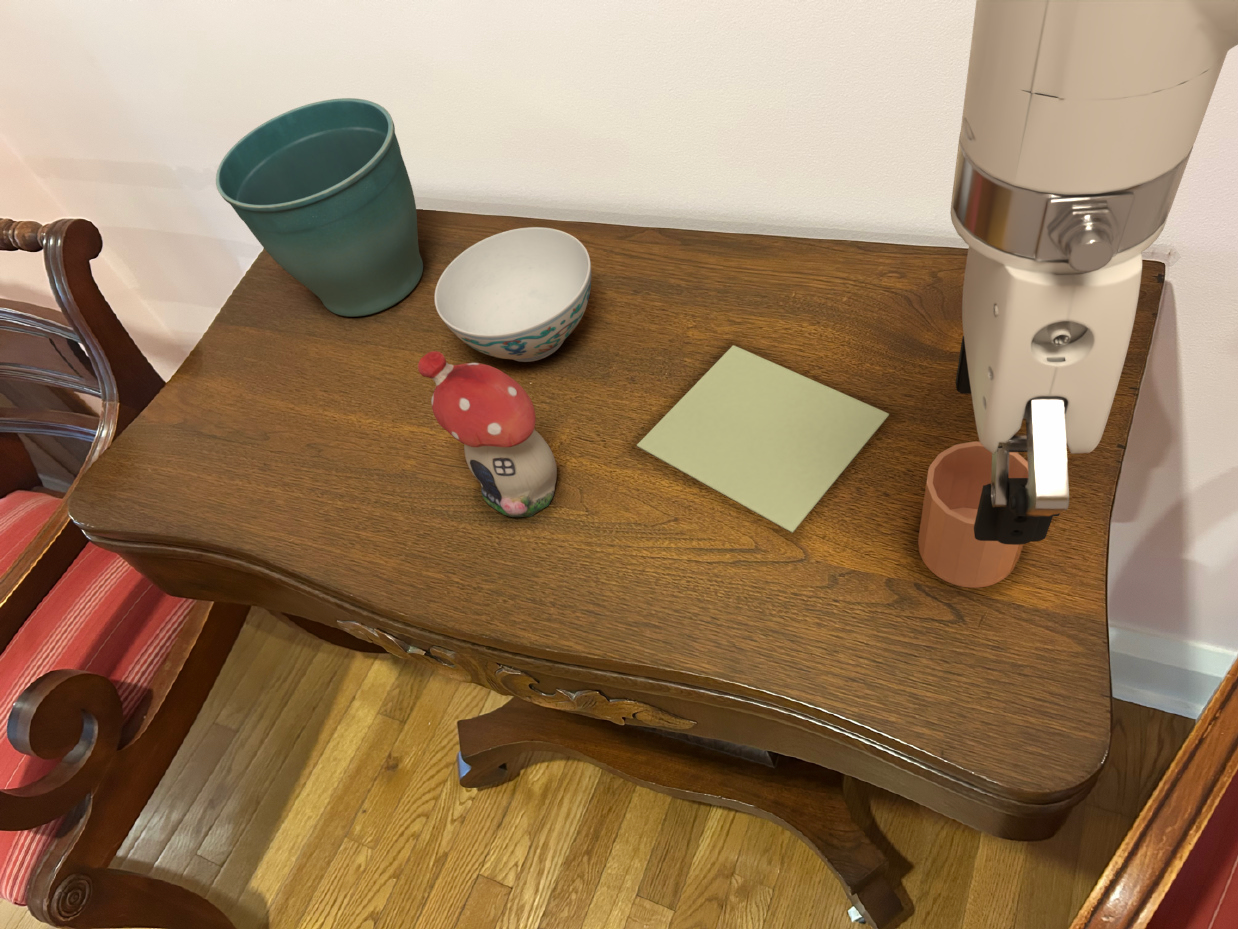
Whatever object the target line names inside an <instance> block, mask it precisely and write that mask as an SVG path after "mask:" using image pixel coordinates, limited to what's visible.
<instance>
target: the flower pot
mask: <svg viewBox="0 0 1238 929" xmlns="http://www.w3.org/2000/svg"><path fill="white" fill-rule="evenodd" d="M395 127H396V126H395V122H394V120H393V117H392V116H391V113H390V112H389V111H388V110H387V109H386V108H385V107H384V106H382V105H380V104H379V103H376V102H374V101H370V100H368V99H364V98H363V99H362V98H355V97H354V98H353V97H343V98H332V99H325V100H321V101H315V102H312V103H311V102H310V103H306V104H304V105H301V106H298V107H296V108H292V109H290V110H288V111H285V112H283V113H281V114H279V115H276V116H274V117H272V118H270V119H269V120H266V121H265V122H263V123H262V124H260V125H258V126H257V127H255V128H254V129H252V130H250V131H249V132H248V133H247V134H245V135H244V136H243V137H241V138H240V139H239V140H238V141H237V142H235V144H233V146H232V147H231V148H230V149H229V150H228V151H227V153H226V154H225V155H224V156H223V158H222V160H221V162H220V163H219V165H218V167H217V171H216V174H215V186H216V189H217V191H218V193H219V195H220V196H221V197H222V199H223V200H224V201H225V202H227V204H229V205H230V206H231V207H232V209H233V210H234V212H235V213H236V214H237V216H238V218H240V220H242V221H243V222H244V224H245V225H246V226H247V228H248V229H249V231H250V232H251V233H252V235H253V236H254V238H256V240H257V241H258V242H259V244H260V245H261V246H262V248H263V249H264V250H265V251H266V253H267V254H268V255H269V256H270V257H271V258H272V260H274V261H275V263H277V264H278V265H279V266H280V267H281V268H282V269H283V270H284V271H285V272H286V273H288V274H289V275H290V276H291V277H292V278H294V279H295V280H297V281H298V282H299V283H301V285H303V286H304V287H306V288H307V289H308V290H309V291H311V292H312V293H313V294H314V295H315V296H316V297H317V298H318V299H319V300H320V301H321V303H322V304H323V306H324V307H325V308H326V309H327V310H328V311H329V312H331V313H333V314H335V315H339V316H341V317H349V318H350V317H351V318H352V317H354V318H355V317H365V316H370V315H374V314H377V313H380V312H382V311H385V310H387V309H390V308H391V307H393V306H395V305H396V304H398V303H399V302H401V301H402V300H403V299H405V298H406V297H407V296H408V295H410V294H411V292H412V291H413V290H414V289H415V288H416V286H417V285H418V283H419V282H420V280H421V278H422V276H423V272H424V262H423V259H422V256H421V253H420V247H419V236H418V235H419V234H418V215H417V214H418V213H417V206H416V199H415V198H416V197H415V194H414V190H413V186H412V182H411V180H410V176H409V172H408V170H407V167H406V164H405V161H404V158H403V155H402V151H401V147H400V146H401V145H400V144H399V141H398V137H397V135H396V128H395Z"/></svg>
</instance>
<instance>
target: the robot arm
mask: <svg viewBox="0 0 1238 929" xmlns="http://www.w3.org/2000/svg"><path fill="white" fill-rule="evenodd" d="M1236 46H1238V0H976V1H975V10H974V18H973V27H972V33H971V44H970V51H969V57H968V58H969V59H968V67H967V75H966V83H965V92H964V99H963V108H962V117H961V123H960V124H961V125H960V132H959V136H958V144H957V145H958V146H957V153H956V161H955V169H954V177H953V184H952V185H953V186H952V192H951V194H952V195H951V201H950V219H951V224H952V225H953V228H954V230H955V232H956V233H957V235H958V236H959V237H960V238H961V239H962V240H963V242H964V243H965V244H966V245H968V249H967V254H966V255H967V256H966V263H965V268H964V270H965V271H964V275H963V276H964V277H963V285H962V299H961V300H962V302H961V318H962V332H963V335H962V337H961V344H960V349H959V356H958V362H957V369H956V374H955V381H954V382H955V389H956V392H957V393H959V394H960V395H961V394H962V395H971V401H972V407H973V414H974V420H975V427H976V431H977V438H978V441H979V442H980V443H981V444H982V445H983V446H984V447H985V448H986V449H987V450H988V451H990V452H991V453H992V468H991V483H990V484H987V485H983V489H982V493H981V497H980V502H979V506H978V511H977V515H976V520H975V524H974V535H975V539H977V540H980V541H998V542H1000V543H1002V544H1008V545H1020V544H1024V545H1025V544H1028V543H1030V542H1041V541H1043V540H1045V539H1046V537H1047V535H1048V532H1049V529H1050V526H1051V523H1052V520H1053V517H1059V516H1060V515H1061V513H1063V512H1066V511H1067V510H1068V509H1069V506H1070V486H1069V469H1068V451H1067V450H1069V452H1070V454H1072V455H1073V454H1075V455H1076V454H1090V453H1091V452H1093V451H1094V450H1095V449H1096V448H1097V446H1098V445H1099V444H1100V441H1101V440H1102V437H1103V435H1104V432H1105V429H1106V425H1107V423H1108V419H1109V416H1110V413H1111V409H1112V406H1113V403H1114V400H1115V396H1116V393H1117V389H1118V386H1119V382H1120V379H1121V375H1122V372H1123V369H1124V365H1125V361H1126V357H1127V353H1128V350H1129V346H1130V341H1131V337H1132V333H1133V329H1134V325H1135V318H1136V313H1137V308H1138V302H1139V296H1140V289H1141V281H1142V274H1143V252H1144V251H1146V250H1147V249H1149V248H1150V247H1151V246H1152V245H1153V244H1154V243H1155V242H1156V241H1157V240H1158V239H1159V237H1160V235H1161V234H1162V232H1163V230H1164V228H1165V226H1166V224H1167V220H1168V218H1169V214H1170V212H1171V210H1172V206H1173V205H1174V201H1175V198H1176V196H1177V193H1178V190H1179V188H1180V185H1181V182H1182V179H1183V176H1184V174H1185V171H1186V168H1187V165H1188V163H1189V160H1190V157H1191V154H1192V152H1193V149H1194V144H1196V141H1197V138H1198V135H1199V132H1200V129H1201V128H1202V127H1201V126H1202V124H1203V121H1204V118H1205V116H1206V113H1207V110H1208V107H1209V104H1210V101H1211V99H1212V96H1213V93H1214V91H1215V88H1216V85H1217V82H1218V79H1219V77H1220V73H1221V72H1222V68H1223V66H1224V63H1225V60H1226V58H1227V54H1228V52H1229V51H1230V50H1231V49H1233V48H1235V47H1236ZM1023 420H1025V432H1026V433H1023V434H1022V433H1021V434H1017V433H1018V432H1019V431H1020V430H1021V429H1022V428H1021V427H1022V424H1023ZM1067 448H1068V449H1067ZM1009 452H1017V453H1026V454H1027V455H1026V456H1027V462H1028V478H1009Z"/></svg>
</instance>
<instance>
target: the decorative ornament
mask: <svg viewBox="0 0 1238 929" xmlns="http://www.w3.org/2000/svg"><path fill="white" fill-rule="evenodd" d="M446 359H447V358H446V357H445V355H444V354H443V353H442V352H440V351H435V350H433V351H428V352H426V354H424V355H423V356H422V357H421V358H420V359H419V361H418V363H417V370H418V372H419V374H420V375H421V376H422V377H425V378H429V379H431V380H432V381H433V382H434V383H435V389H434V390H433V393H432V395H431V398H430V399H431V408H432V409H431V410H432V413H433V416H434V418H435V420H436V421H437V423H438V425H439V426H440V427H441V428H442V429H443V430H445V431H446V432H447V433H449V434H450V436H451V437H452V438H453V439H455V440H456V441H458V442H459V443H461V444H463V446H464V447H463V448H464V449H463V450H464V457H465V461H466V464H467V467H468V470H470V473H471V474H472V475H473V477H474V478H475V479H476V480H477V481H478V482H479V483H480V486H481V488H480V493H481V497H482V498H483V500H484V501H485V503H486V504H487V505H488V506H490V507H491V508H492V509H494V510H495V511H497V512H498V513H500V514H502V515H503V516H507V517H509V518H526V517H529V518H530V517H532V516H534V515H536V514H538V513H539V512H541V511H543V509H545V508H548V506H549V505H550V503H551V502H552V500H553V498H554V496H555V492H556V491H555V489H556V484H557V476H558V475H557V474H558V467H557V462H556V461H557V460H556V458H555V455H554V453H553V451H552V449H551V447H550V446H549V444H548V443H547V441H546V440H545V438H544V437H543V436H542V435H541V434H540V433H539V432H538V431H537V430H535V428H536V422H537V419H536V418H537V417H536V416H537V415H536V411H535V406H534V404H533V401H532V399H531V397H530V395H529V394H528V393H527V391H526V390H525V389H524V388H523V386H521V385H520V383H518V381H516V380H515V379H514V378H512V377H511V376H509V375H508V374H507V373H506V372H503V371H502V370H500V369H498V368H496V367H494V366H492V365H490V364H489V365H488V364H484V363H479V362H469V363H468V362H467V363H459V364H451V363H448V362H447V360H446Z"/></svg>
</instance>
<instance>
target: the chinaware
mask: <svg viewBox="0 0 1238 929" xmlns="http://www.w3.org/2000/svg"><path fill="white" fill-rule="evenodd" d="M591 288H592V263H591V258H590V255H589V252H588V250H587V248H586V247H585V245H584V244H583V243H582V241H580V240H579V239H577V238H576V237H575V236H573V235H572V234H570V233H567V232H565V231H562V230H561V229H560V230H559V229H555V228H552V227H551V228H550V227H542V226H541V227H540V226H530V227H520V228H515V229H510V230H505V231H503V232H499V233H495V234H493V235H491V236H489V237H486V238H484V239H482V240H480V241H478V242H476V243H474V244H473V245H471V246H469V247H467V248H466V249H465V250H463V252H461V253H460V254H458V255H457V256H456V257H455V258H453V260H452V261H451V262H450V263H449V264H448V265H447V267H446V268H445V269H444V270H443V271H442V273H441V275H440V277H439V279H438V281H437V283H436V286H435V289H434V306H435V309H436V312H437V314H438V316H439V317H440V319H441V320H442V322H443V323H444V325H446V327H448V329H449V330H450V331H451V332H452V333H453V334H454V335H455V336H456V337H457V338H458V339H459V340H460V341H461V342H462V343H464V344H466V345H467V346H468V347H470V348H472V349H474V350H475V351H477V352H479V353H481V354H484V355H487V356H490V357H493V358H496V359H497V358H498V359H502V360H503V359H504V360H513V361H517V362H522V363H527V362H529V363H530V362H535V361H539V360H542V359H545V358H547V357H549V356H551V355H552V354H554V353H555V352H556V351H557V350H559V348H560V347H561V346H562V345H563V343H564V341H565V340H566V339H567V338H568V337H569V336H570V335H572V333H573V332H574V331H575V330H576V328H577V326H578V325H579V324H580V322H581V320H582V318H583V316H584V314H585V312H586V309H587V307H588V304H589V299H590V294H591Z"/></svg>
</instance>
